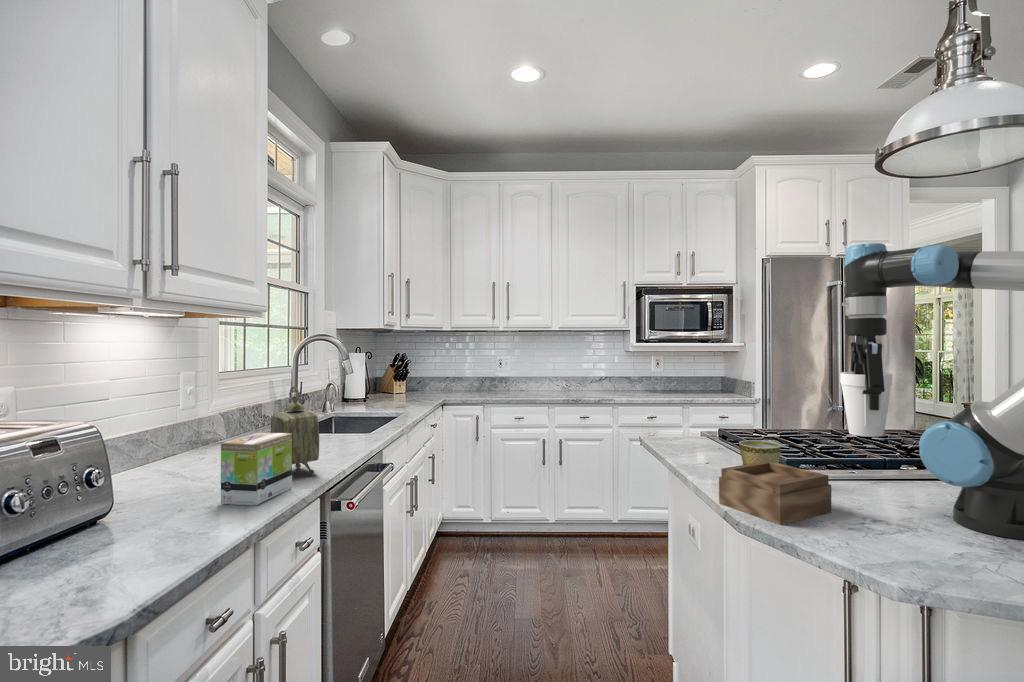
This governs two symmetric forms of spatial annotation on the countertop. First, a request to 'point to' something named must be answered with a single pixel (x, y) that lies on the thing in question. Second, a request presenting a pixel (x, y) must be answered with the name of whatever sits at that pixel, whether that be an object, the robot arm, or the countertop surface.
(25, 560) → the countertop surface
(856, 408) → the foam cup
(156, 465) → the countertop surface
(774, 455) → the ceramic cup
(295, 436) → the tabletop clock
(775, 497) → the wooden box
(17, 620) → the countertop surface
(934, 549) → the countertop surface
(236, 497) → the tea box
